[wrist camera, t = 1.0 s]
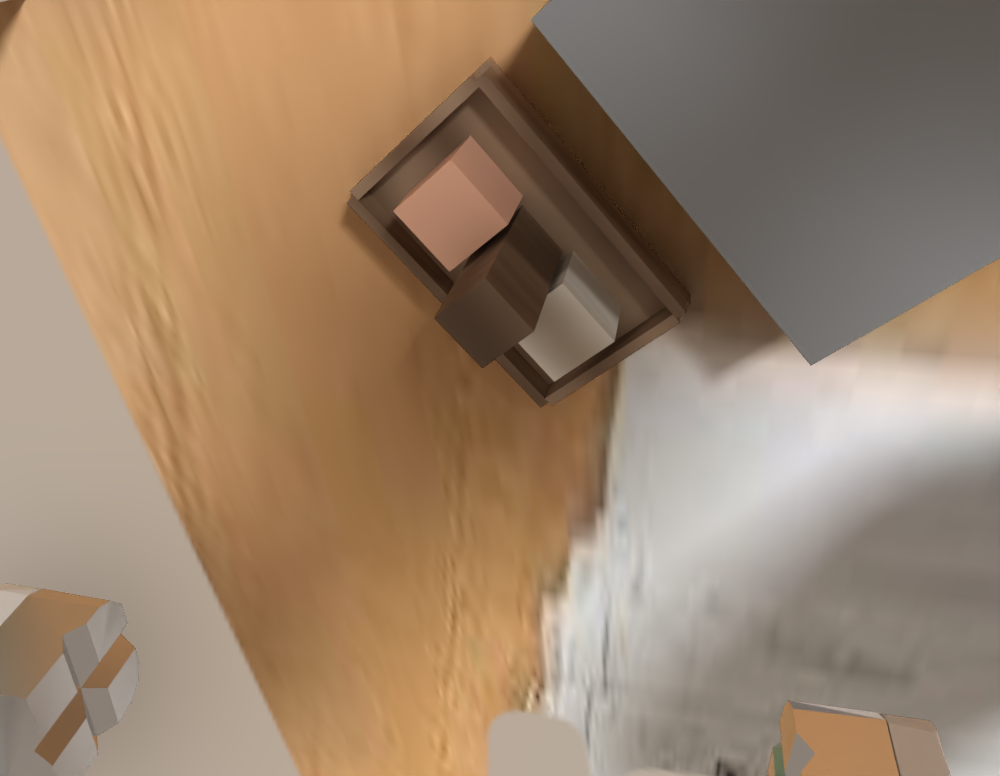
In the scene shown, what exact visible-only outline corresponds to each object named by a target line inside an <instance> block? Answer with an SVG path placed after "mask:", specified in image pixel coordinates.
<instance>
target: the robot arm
mask: <svg viewBox="0 0 1000 776" xmlns="http://www.w3.org/2000/svg"><path fill="white" fill-rule="evenodd" d="M127 624H128V621H127V618H126V615H125V612H124V610H123V607H122V604H120V603H116V602H113V601H108V600H102V599H97V598H92V597H86V596H80V595H74V594H69V593H63V592H58V591H52V590H47V589H39V588H33V587H27V586H21V585H15V584H9V583H6V584H4V585H2V586H0V776H84V774H85V773H86V771H87V770H88V768H89V767H90V765H91V764H92V762H93V761H94V759H95V758H96V756H97V755H98V744H97V736H98V735H100V734H101V733H103V732H104V731H106V730H108V729H109V728H111V727H113V726H114V725H116V724H118V723H119V721H120V720H121V718H122V717H123V715H124V713H125V712H126V710H127V709H128V707H129V706H130V704H131V702H132V699H133V696H134V693H135V689H136V686H137V683H138V680H139V660H138V656H137V652H136V649H135V647H134V646H133V645H132V644H131V643H130V642H129V641H128V640H127V639H126V638H125V637H123V636H122V635H121V632H122V631H123V629H124V628H125V627H126V625H127ZM780 731H781V741H782V743H780V744H778V745H777V746H775V747H774V748H773V749H772V753H771V758H770V762H769V767H768V775H767V776H950V772H949V769H948V766H947V762H946V759H945V756H944V753H943V749H942V746H941V743H940V739H939V736H938V733H937V729H936V728H935V727H934V726H933V724H932V723H931V722H930V721H928V720H921V719H914V718H908V717H901V716H894V715H887V714H880V715H879V714H878V713H877V712H870V711H863V710H856V709H848V708H841V707H834V706H826V705H819V704H812V703H804V702H797V701H790V700H788V701H787V703H786V704H785V706H784V708H783V712H782V715H781V719H780Z"/></svg>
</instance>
